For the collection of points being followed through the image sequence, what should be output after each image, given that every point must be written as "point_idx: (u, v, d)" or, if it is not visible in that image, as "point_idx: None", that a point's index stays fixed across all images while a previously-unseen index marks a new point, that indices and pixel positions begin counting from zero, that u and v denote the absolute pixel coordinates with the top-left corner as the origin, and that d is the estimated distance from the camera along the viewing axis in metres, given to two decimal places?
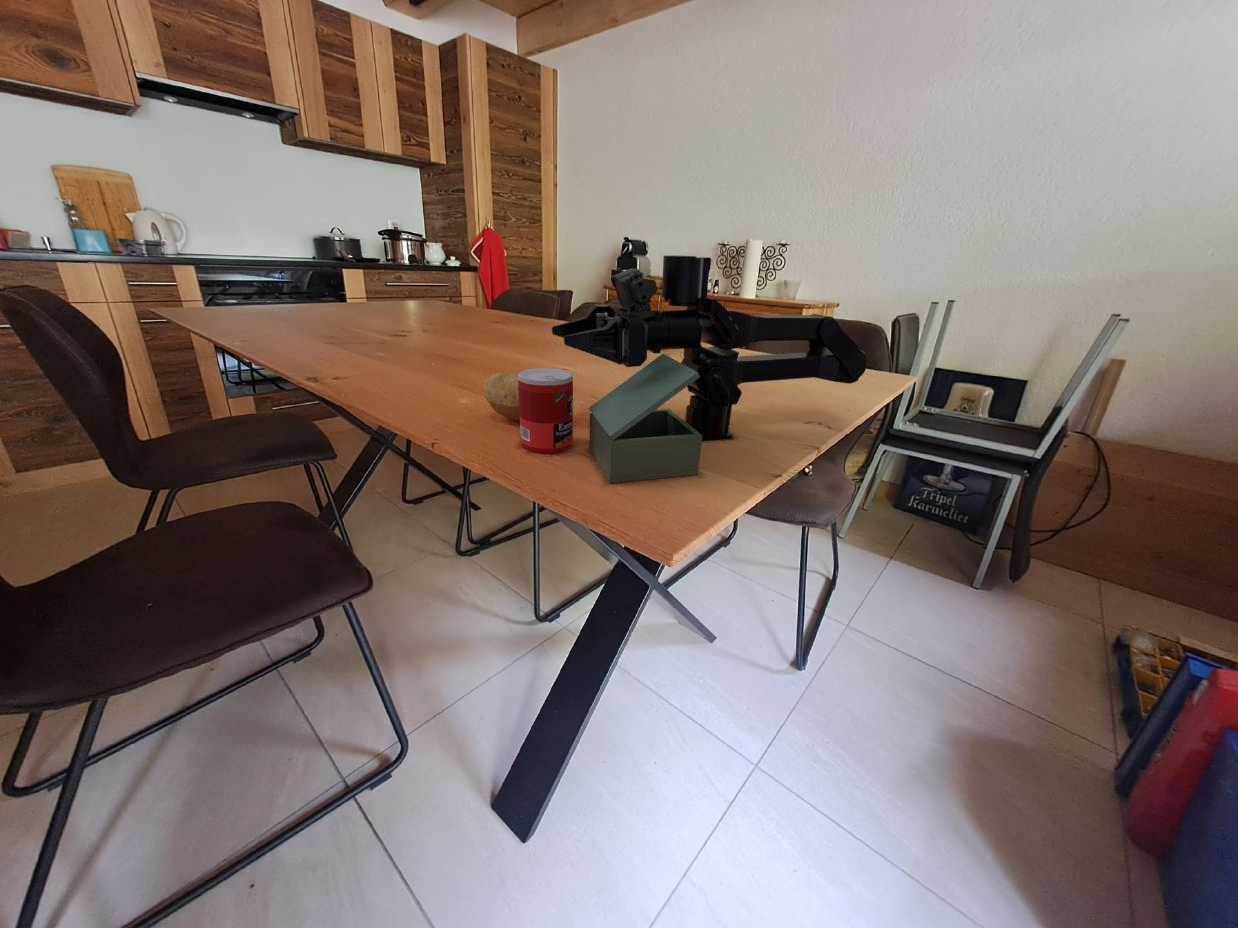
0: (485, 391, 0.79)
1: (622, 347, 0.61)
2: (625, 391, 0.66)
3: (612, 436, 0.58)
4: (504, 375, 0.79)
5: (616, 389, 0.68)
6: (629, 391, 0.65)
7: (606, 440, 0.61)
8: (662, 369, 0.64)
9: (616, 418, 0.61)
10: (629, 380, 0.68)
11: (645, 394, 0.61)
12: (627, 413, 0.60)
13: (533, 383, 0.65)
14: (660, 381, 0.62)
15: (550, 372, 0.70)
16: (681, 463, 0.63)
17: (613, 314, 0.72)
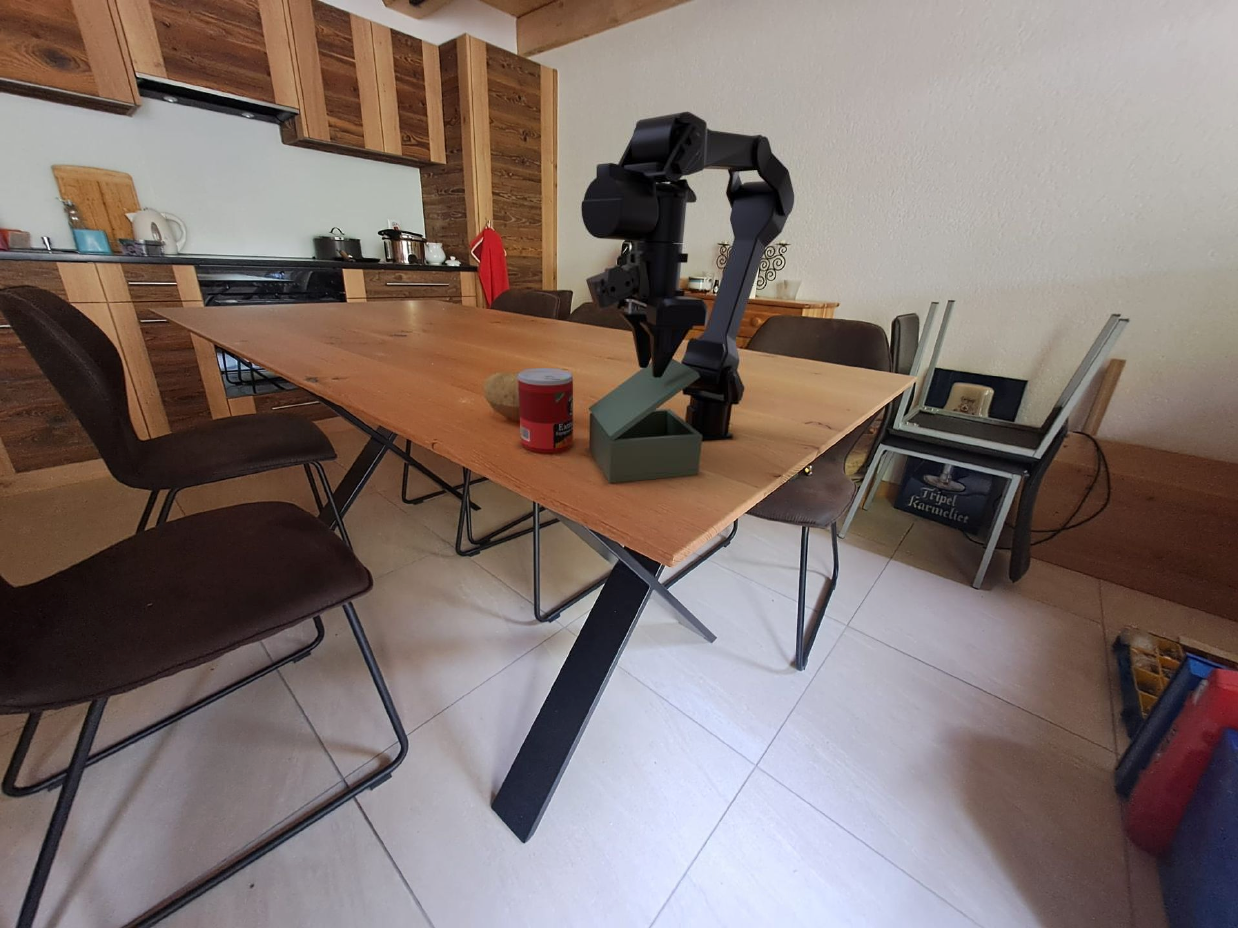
0: (485, 391, 0.79)
1: (677, 325, 0.55)
2: (625, 391, 0.66)
3: (612, 436, 0.58)
4: (504, 375, 0.79)
5: (616, 389, 0.68)
6: (629, 391, 0.65)
7: (606, 440, 0.61)
8: None
9: (616, 418, 0.61)
10: (629, 380, 0.68)
11: (645, 394, 0.61)
12: (627, 413, 0.60)
13: (533, 383, 0.65)
14: (660, 381, 0.62)
15: (550, 372, 0.70)
16: (681, 463, 0.63)
17: None
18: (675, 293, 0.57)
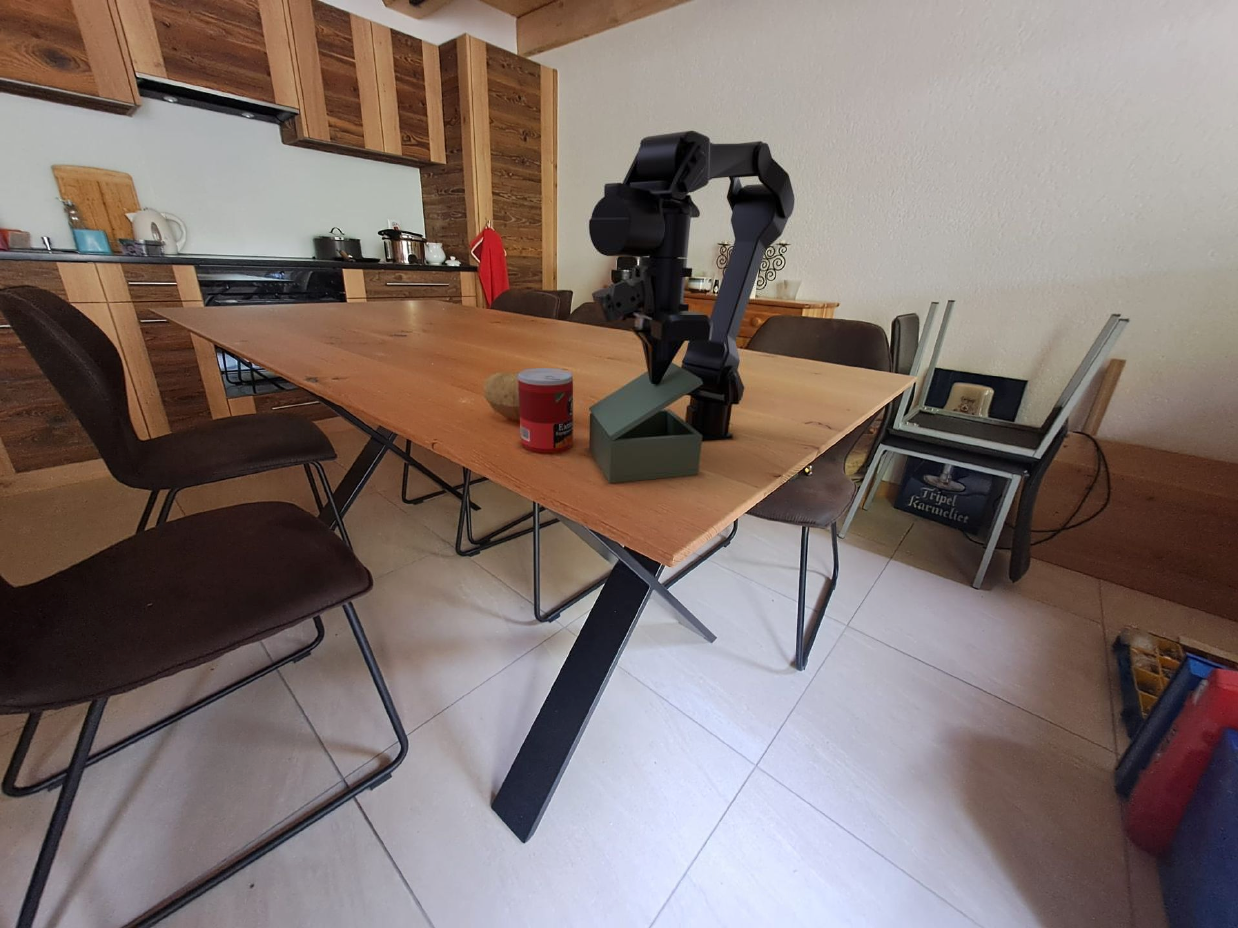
0: (485, 391, 0.79)
1: None
2: (627, 394, 0.66)
3: (612, 436, 0.58)
4: (504, 375, 0.79)
5: (617, 391, 0.68)
6: (631, 394, 0.65)
7: (606, 440, 0.61)
8: (665, 374, 0.65)
9: (617, 418, 0.61)
10: (631, 383, 0.68)
11: (647, 397, 0.62)
12: (629, 415, 0.60)
13: (533, 383, 0.65)
14: (663, 385, 0.62)
15: (550, 372, 0.70)
16: (681, 463, 0.63)
17: None
18: (680, 307, 0.58)
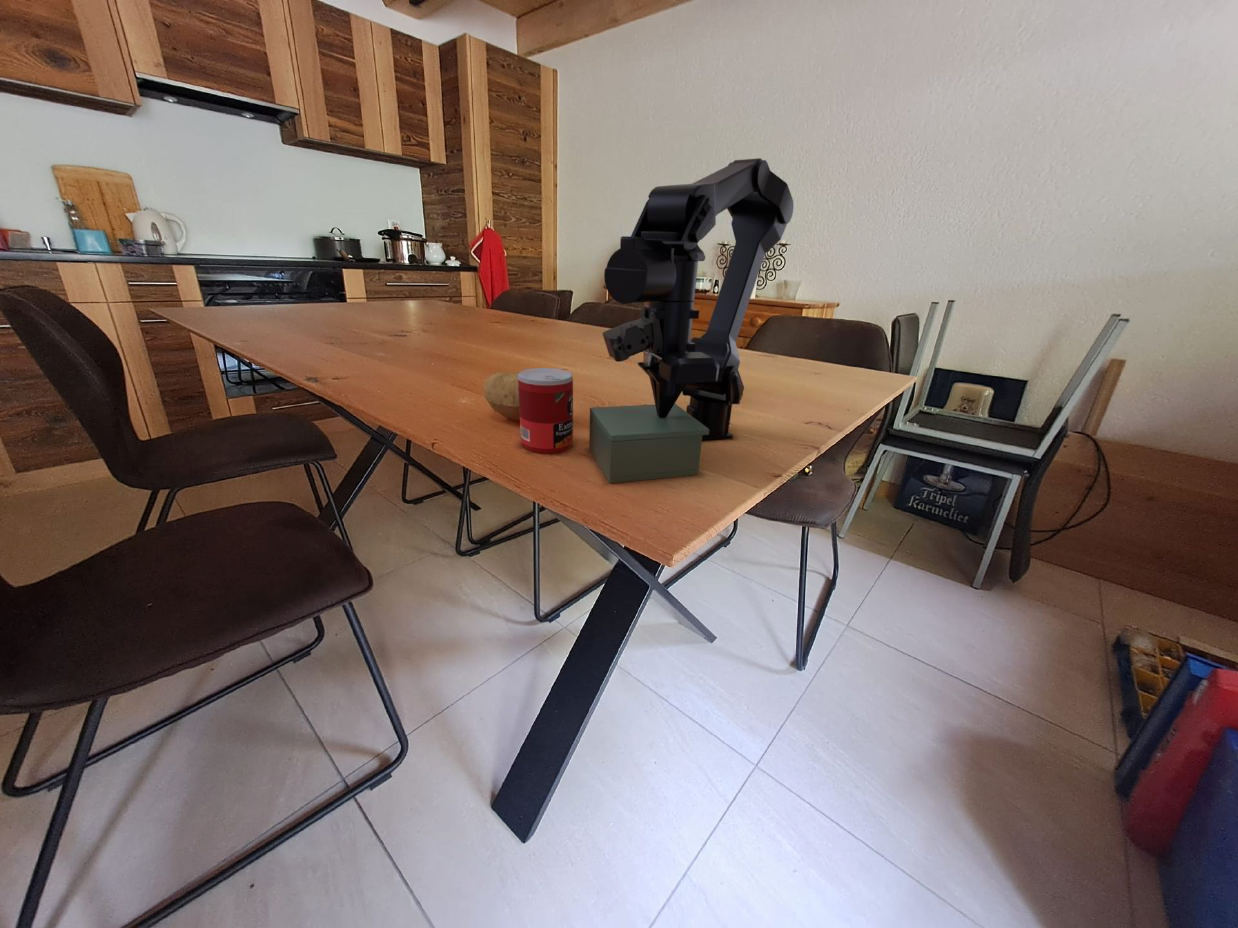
0: (485, 391, 0.79)
1: None
2: (632, 412, 0.67)
3: (613, 437, 0.59)
4: (504, 375, 0.79)
5: (623, 407, 0.69)
6: (637, 414, 0.67)
7: (606, 440, 0.61)
8: (673, 413, 0.68)
9: (621, 426, 0.62)
10: (637, 406, 0.70)
11: (653, 422, 0.64)
12: (633, 428, 0.61)
13: (533, 383, 0.65)
14: (670, 420, 0.65)
15: (550, 372, 0.70)
16: (681, 463, 0.63)
17: None
18: (687, 346, 0.60)
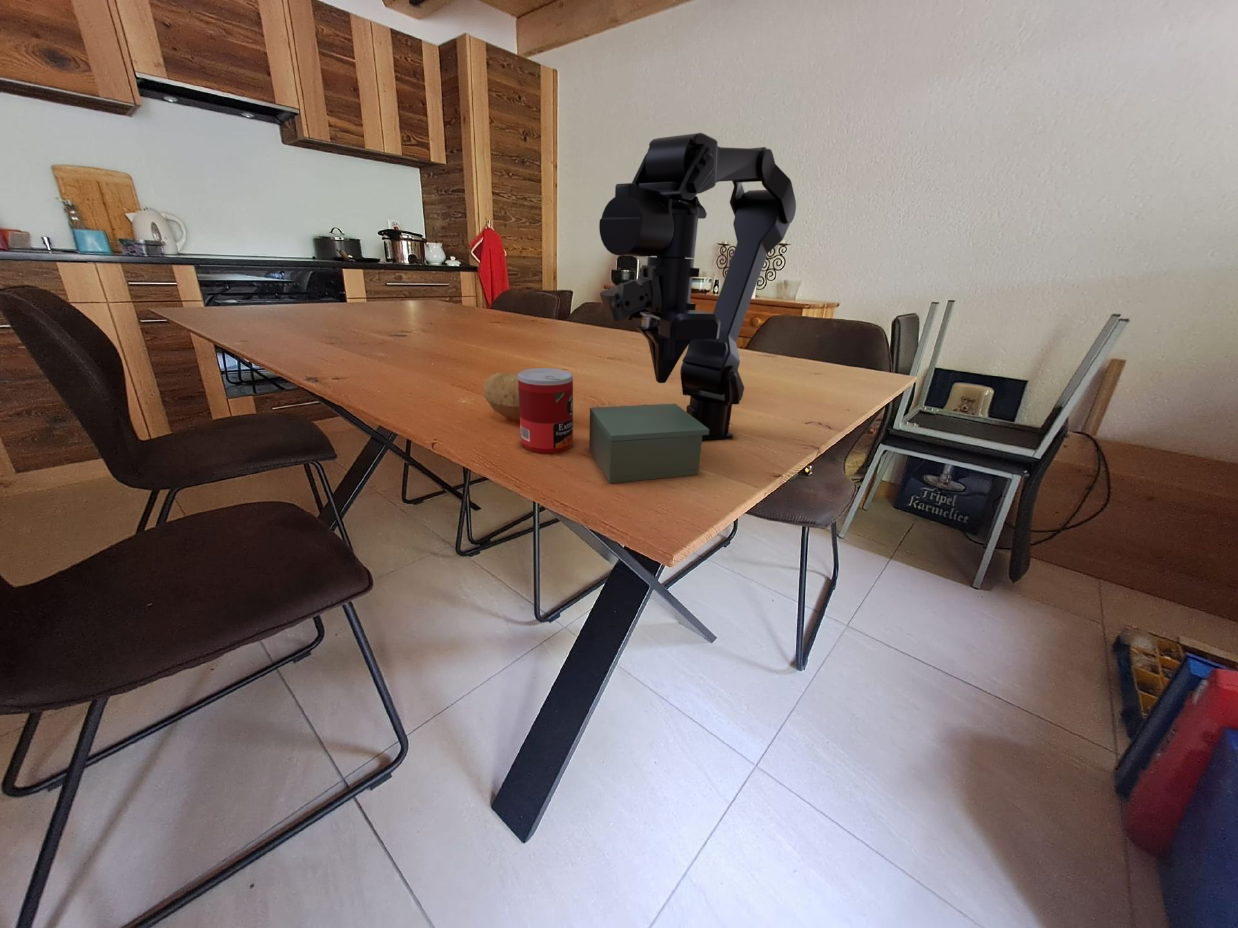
0: (485, 391, 0.79)
1: None
2: (632, 412, 0.67)
3: (613, 437, 0.59)
4: (504, 375, 0.79)
5: (623, 407, 0.69)
6: (637, 414, 0.67)
7: (606, 440, 0.61)
8: (673, 413, 0.68)
9: (621, 426, 0.62)
10: (637, 406, 0.70)
11: (653, 422, 0.64)
12: (633, 428, 0.61)
13: (533, 383, 0.65)
14: (670, 420, 0.65)
15: (550, 372, 0.70)
16: (681, 463, 0.63)
17: None
18: (687, 306, 0.58)
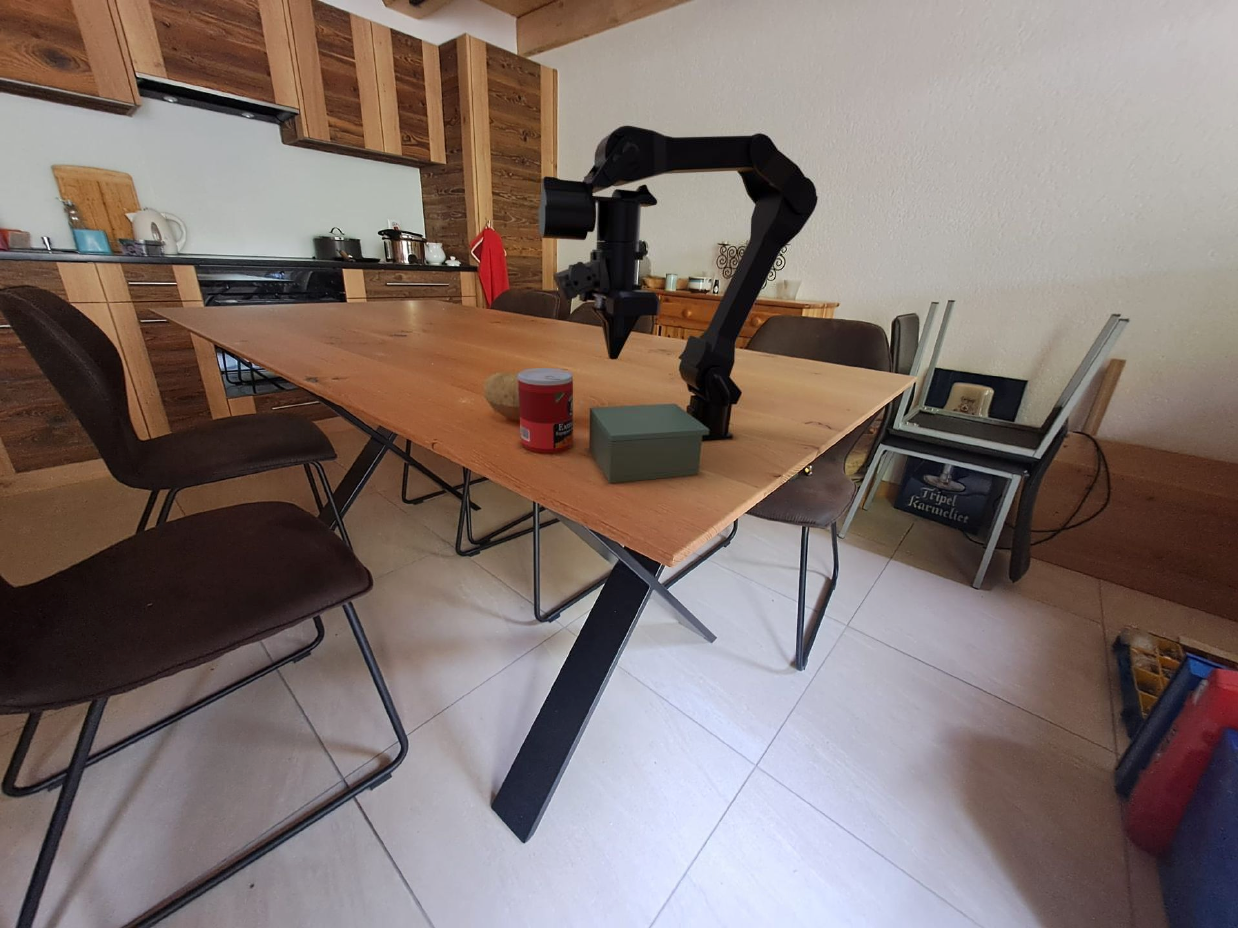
0: (485, 391, 0.79)
1: None
2: (632, 412, 0.67)
3: (613, 437, 0.59)
4: (504, 375, 0.79)
5: (623, 407, 0.69)
6: (637, 414, 0.67)
7: (606, 440, 0.61)
8: (673, 413, 0.68)
9: (621, 426, 0.62)
10: (637, 406, 0.70)
11: (653, 422, 0.64)
12: (633, 428, 0.61)
13: (533, 383, 0.65)
14: (670, 420, 0.65)
15: (550, 372, 0.70)
16: (681, 463, 0.63)
17: None
18: (633, 287, 0.64)
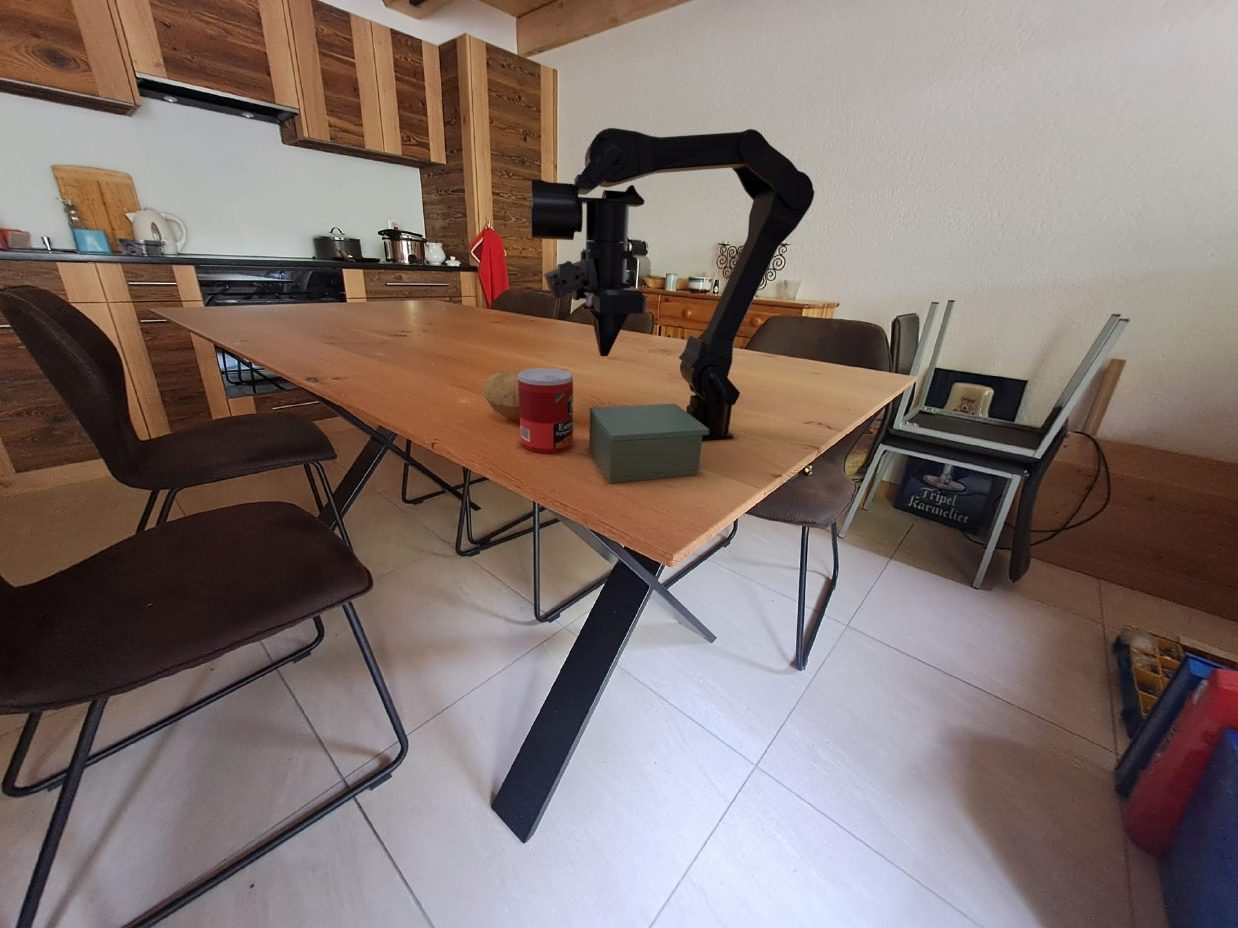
0: (485, 391, 0.79)
1: None
2: (632, 412, 0.67)
3: (613, 437, 0.59)
4: (504, 375, 0.79)
5: (623, 407, 0.69)
6: (637, 414, 0.67)
7: (606, 440, 0.61)
8: (673, 413, 0.68)
9: (621, 426, 0.62)
10: (637, 406, 0.70)
11: (653, 422, 0.64)
12: (633, 428, 0.61)
13: (533, 383, 0.65)
14: (670, 420, 0.65)
15: (550, 372, 0.70)
16: (681, 463, 0.63)
17: None
18: (621, 285, 0.65)
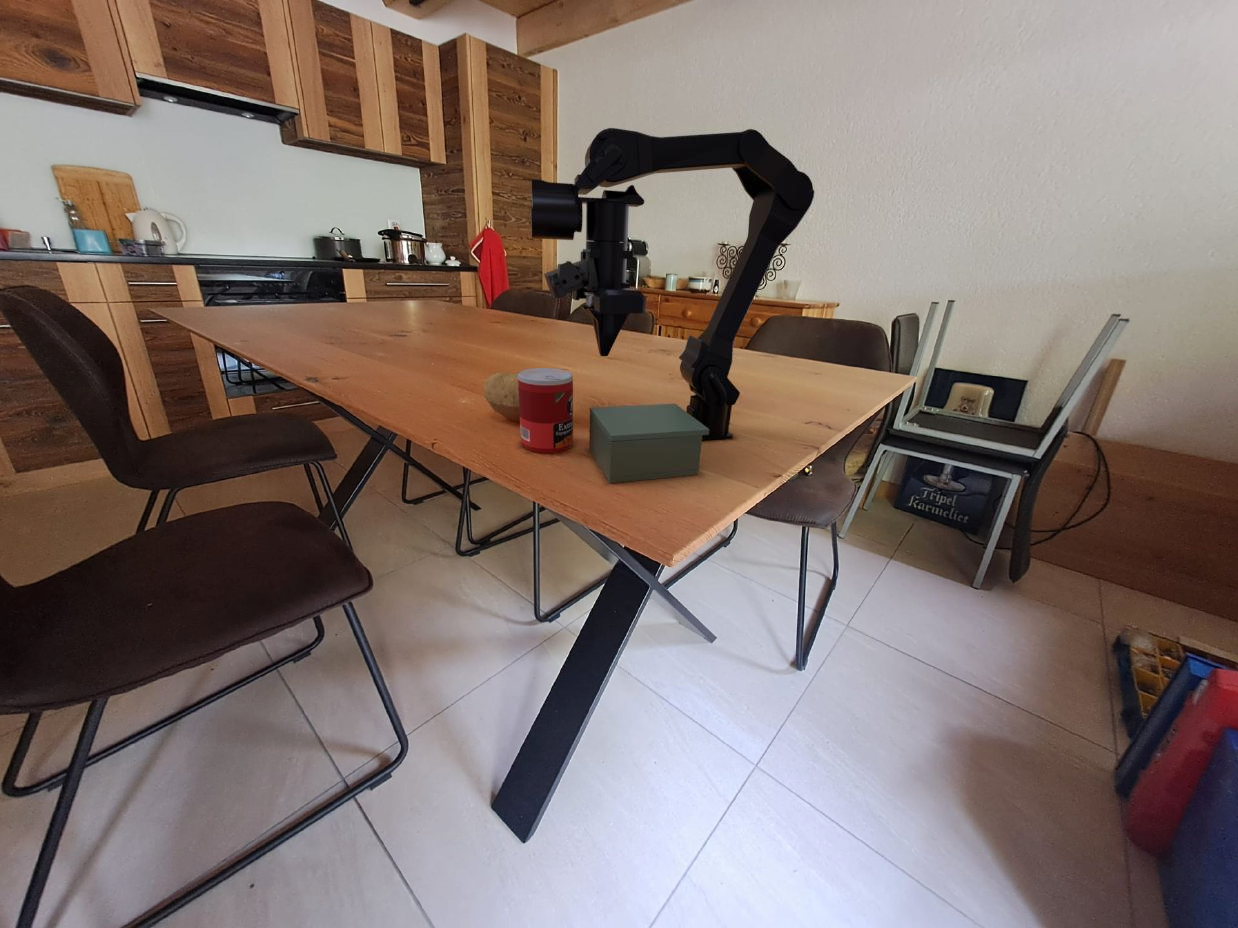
0: (485, 391, 0.79)
1: None
2: (632, 412, 0.67)
3: (613, 437, 0.59)
4: (504, 375, 0.79)
5: (623, 407, 0.69)
6: (637, 414, 0.67)
7: (606, 440, 0.61)
8: (673, 413, 0.68)
9: (621, 426, 0.62)
10: (637, 406, 0.70)
11: (653, 422, 0.64)
12: (633, 428, 0.61)
13: (533, 383, 0.65)
14: (670, 420, 0.65)
15: (550, 372, 0.70)
16: (681, 463, 0.63)
17: None
18: (621, 285, 0.65)
